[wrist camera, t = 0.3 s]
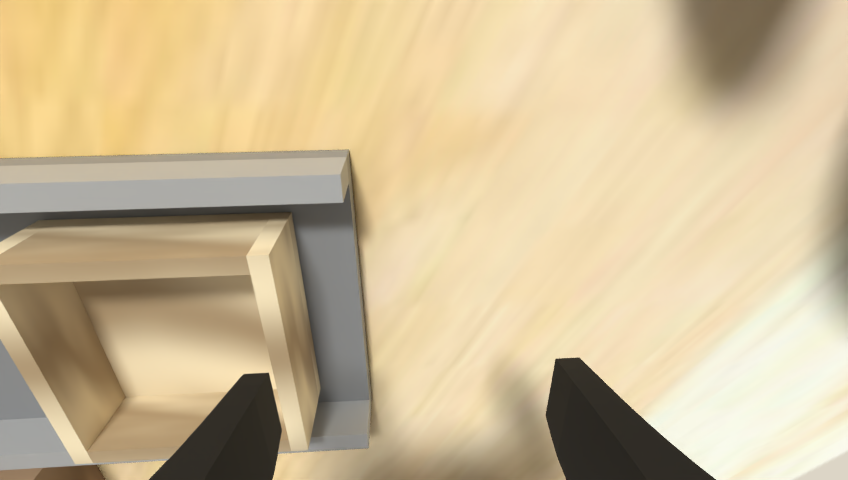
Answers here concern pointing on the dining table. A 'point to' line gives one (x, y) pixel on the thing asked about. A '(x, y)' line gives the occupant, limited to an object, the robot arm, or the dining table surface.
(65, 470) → the walnut block
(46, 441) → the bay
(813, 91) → the dining table surface
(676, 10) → the dining table surface
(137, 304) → the crate
